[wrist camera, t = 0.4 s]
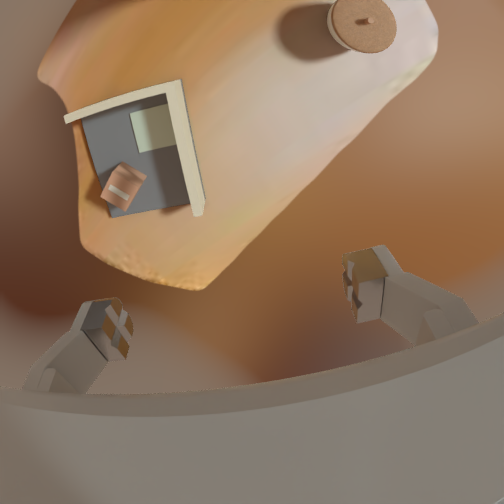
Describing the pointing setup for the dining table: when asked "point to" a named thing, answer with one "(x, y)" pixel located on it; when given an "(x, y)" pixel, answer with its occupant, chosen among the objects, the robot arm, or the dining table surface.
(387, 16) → the lidded jar
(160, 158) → the arena
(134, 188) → the block
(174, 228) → the dining table surface
